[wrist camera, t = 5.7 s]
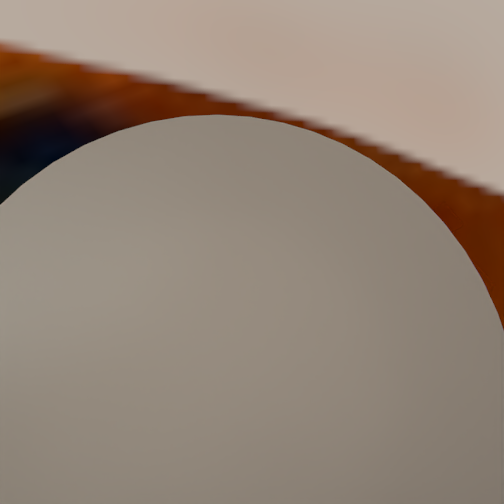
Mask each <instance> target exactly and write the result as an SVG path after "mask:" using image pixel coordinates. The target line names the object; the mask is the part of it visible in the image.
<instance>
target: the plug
mask: <svg viewBox="0 0 504 504" xmlns="http://www.w3.org/2000/svg"><path fill="white" fill-rule="evenodd" d="M0 504H504V330H503V327H502V324H501V321H500V318H499V315H498V313H497V310H496V308H495V306H494V304H493V302H492V299H491V297H490V295H489V293H488V291H487V289H486V286H485V284H484V282H483V280H482V278H481V277H480V275H479V273H478V272H477V270H476V268H475V267H474V265H473V263H472V262H471V260H470V258H469V257H468V255H467V253H466V251H465V250H464V249H463V247H462V246H461V245H460V243H459V242H458V241H457V239H456V238H455V237H454V235H453V234H452V233H451V231H450V230H449V229H448V227H447V226H446V225H445V223H444V222H443V221H442V220H441V219H440V218H439V217H438V216H437V215H436V214H435V213H434V212H433V210H432V209H431V208H430V207H429V206H428V205H427V204H426V203H425V202H424V201H423V200H422V199H421V198H420V197H419V196H418V195H417V194H415V193H414V192H413V191H412V190H411V189H410V188H409V187H407V186H406V185H405V184H404V183H403V182H402V181H401V180H399V179H398V178H397V177H396V176H394V175H393V174H391V173H390V172H388V171H387V170H386V169H384V168H383V167H381V166H380V165H378V164H377V163H375V162H374V161H373V160H371V159H369V158H368V157H366V156H364V155H362V154H360V153H359V152H357V151H355V150H353V149H351V148H349V147H348V146H346V145H344V144H342V143H340V142H337V141H335V140H332V139H330V138H328V137H325V136H323V135H320V134H318V133H316V132H313V131H310V130H306V129H303V128H300V127H296V126H293V125H289V124H286V123H282V122H277V121H271V120H266V119H260V118H254V117H246V116H230V115H201V116H183V117H177V118H171V119H165V120H159V121H153V122H149V123H145V124H142V125H138V126H134V127H131V128H127V129H124V130H120V131H117V132H115V133H112V134H110V135H107V136H105V137H103V138H100V139H98V140H95V141H93V142H90V143H88V144H86V145H84V146H82V147H80V148H78V149H76V150H75V151H73V152H71V153H69V154H68V155H66V156H64V157H62V158H60V159H59V160H57V161H55V162H53V163H52V164H50V165H49V166H48V167H46V168H45V169H43V170H42V171H41V172H39V173H38V174H36V175H35V176H34V177H32V178H31V179H30V180H28V181H27V182H25V183H24V184H23V185H21V186H20V187H19V188H18V189H17V190H16V191H15V192H14V193H13V194H12V195H11V196H10V197H8V198H7V199H6V200H5V201H4V202H3V203H2V204H1V205H0Z"/></svg>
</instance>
